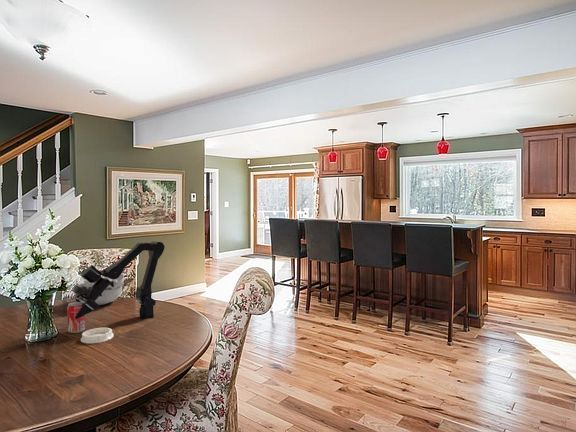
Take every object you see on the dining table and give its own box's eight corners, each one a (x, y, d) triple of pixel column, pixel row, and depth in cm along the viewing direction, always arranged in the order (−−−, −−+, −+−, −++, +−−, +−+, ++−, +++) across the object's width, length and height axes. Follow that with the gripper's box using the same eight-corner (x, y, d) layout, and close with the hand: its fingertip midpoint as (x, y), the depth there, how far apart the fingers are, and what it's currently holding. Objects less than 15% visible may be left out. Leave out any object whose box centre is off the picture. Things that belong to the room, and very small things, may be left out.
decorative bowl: (72, 300, 243) (71, 275, 242) (125, 295, 253) (124, 272, 253) (63, 313, 215) (62, 285, 214) (123, 307, 225) (123, 281, 224)
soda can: (88, 328, 189) (87, 301, 188) (79, 334, 182) (78, 305, 181) (74, 328, 190) (73, 301, 189) (64, 333, 183) (63, 305, 182)
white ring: (115, 332, 184) (115, 326, 184) (111, 341, 172) (111, 335, 172) (84, 334, 181) (84, 328, 181) (77, 344, 168) (77, 338, 168)
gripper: (78, 275, 194) (53, 302, 187) (90, 281, 181) (64, 310, 174) (96, 289, 200) (72, 315, 193) (109, 296, 186) (84, 324, 179)
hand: (73, 316), depth 185 cm, fingers open, 8 cm apart
